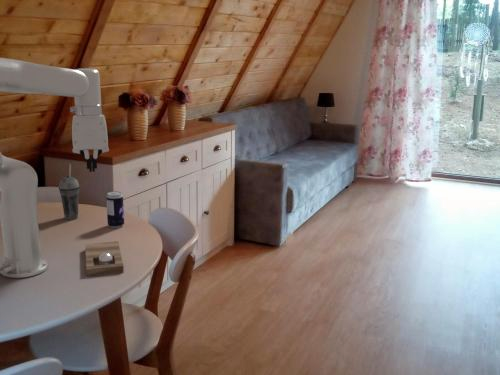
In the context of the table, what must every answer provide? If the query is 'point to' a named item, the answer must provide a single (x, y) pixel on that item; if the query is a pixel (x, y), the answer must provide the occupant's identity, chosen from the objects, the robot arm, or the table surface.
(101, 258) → the steel ball
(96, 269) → the slotted wooden board
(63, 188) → the beverage cup
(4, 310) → the table surface
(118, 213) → the beverage can
